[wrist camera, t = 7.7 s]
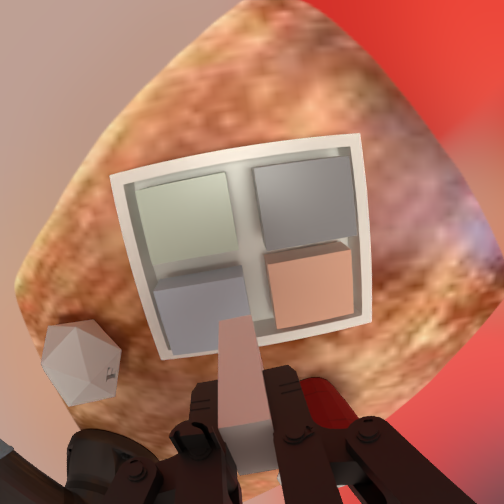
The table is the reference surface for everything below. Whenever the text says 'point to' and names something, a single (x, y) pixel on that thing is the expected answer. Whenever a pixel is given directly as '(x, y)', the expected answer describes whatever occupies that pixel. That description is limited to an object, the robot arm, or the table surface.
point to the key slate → (200, 307)
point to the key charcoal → (305, 201)
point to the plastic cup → (326, 406)
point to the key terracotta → (310, 284)
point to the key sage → (187, 218)
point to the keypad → (245, 233)
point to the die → (81, 362)
